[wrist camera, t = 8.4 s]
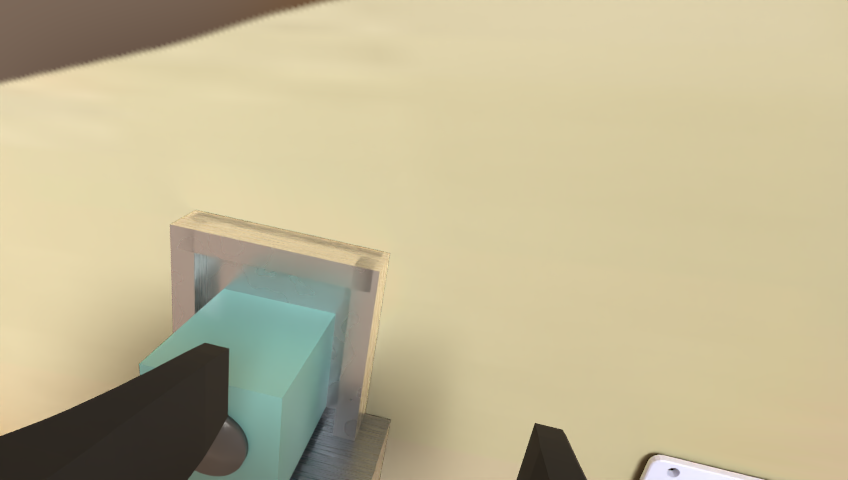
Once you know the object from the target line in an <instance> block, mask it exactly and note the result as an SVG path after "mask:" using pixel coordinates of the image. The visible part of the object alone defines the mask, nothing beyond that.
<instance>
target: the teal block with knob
mask: <svg viewBox="0 0 848 480" xmlns="http://www.w3.org/2000/svg"><path fill="white" fill-rule="evenodd" d="M335 315H336V314H334V313H330V312H325V311H321V310H316V309H312V308H308V307H303V306H299V305H294V304H290V303H285V302H281V301H276V300H272V299H267V298H263V297H258V296H254V295H249V294H245V293H241V292H236V291H232V290H227V289H223V290H222V291H221V292H219V293H218V294H217V295H216V296H215V297H214V298H213V299H212V300H210V301H209V302H208V303H207V304H206V305H205V306H204V307H203V308H201V309H200V310H199V311H198V312H197V313H196V314H195V315H194V316H192V317H191V318H190V319H189V320H188V321H187V322H186V323H185V324H183V325H182V326H181V327H180V328H179V329H178V330H177V331H176V332H174V333H173V334H172V335H171V336H170V337H169V338H168V339H167V340H165V341H164V342H163V343H162V344H161V345H160V346H159V347H158V348H156V349H155V350H154V351H153V352H152V353H151V354H150V355H149V356H147V357H146V358H145V359H144V360H143V361H142V362H141V363H140V364H139V368H140V375H142V374H144V373H146V372H148V371H150V370H152V369H154V368H156V367H158V366H160V365H162V364H164V363H166V362H167V361H169V360H171V359H173V358H175V357H177V356H179V355H181V354H183V353H185V352H187V351H189V350H191V349H193V348H195V347H197V346H199V345H201V344H203V343H209V344H213V345H217V346H221V347H225V348H229V386H228V417H227V419H226V421H225V422H224V424H223V426H222V428H221V430H220V431H219V433H218V435H217V437H216V439H215V440H214V442H213V444H212V445H211V447H210V449H209V450H208V452H207V454H206V456H205V457H204V458H203V460H202V461H201V463H200V464H199V465H198V467H197V468H196V469H195V471H194V472H193V473H192V475H191V476H190V477H189V479H188V480H290V478H291V476H292V474H293V472H294V470H295V468H296V466H297V464H298V462H299V460H300V458H301V456H302V454H303V452H304V450H305V448H306V446H307V444H308V442H309V440H310V438H311V436H312V434H313V432H314V430H315V428H316V426H317V424H318V422H319V420H320V418H321V416H322V414H323V412H324V410H325V408H326V402H327V392H328V383H329V373H330V363H331V353H332V344H333V334H334V324H335Z"/></svg>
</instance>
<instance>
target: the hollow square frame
mask: <svg viewBox="0 0 848 480" xmlns="http://www.w3.org/2000/svg"><path fill="white" fill-rule="evenodd" d="M170 241H171V276H172V311H173V333H174V332H176V331H177V330H178V329H179V328H180V327H181V326H182V325H183V324H185V323H186V322H187V321H188V320H189V319H190V318H191V317H192V316H194V315H195V314H196V313H197V312H198V311H199V310H200V309H201V308H203V307H204V306H205V305H206V304H207V303H208V302H209V301H210V300H212V299H213V298H214V297H215V296H216V295H217V294H218V293H219V292H221V291H222V290H223V289H227V290H232V291H236V292H241V293H245V294H249V295H254V296H258V297H263V298H267V299H272V300H276V301H281V302H285V303H290V304H294V305H299V306H303V307H308V308H312V309H316V310H321V311H325V312H330V313H334V314H336V315H335V324H334V334H333V344H332V353H331V363H330V373H329V383H328V392H327V402H326V408H325V410H324V412H323V414H322V416H321V418H320V420H319V422H318V424H317V426H316V428H315V430H314V432H313V434H312V436H311V438H310V440H309V442H308V444H307V446H306V448H305V450H304V452H303V454H302V456H301V458H300V460H299V462H298V464H297V466H296V468H295V470H294V472H293V474H292V476H291V478H290V480H380V475H381V469H382V464H383V458H384V453H385V447H386V442H387V436H388V431H389V425H390V420H389V419H385V418H381V417H377V416H373V415H369V414H365V410H366V404H367V397H368V391H369V385H370V378H371V372H372V365H373V359H374V353H375V346H376V340H377V333H378V327H379V321H380V314H381V308H382V301H383V295H384V289H385V282H386V276H387V269H388V263H389V256H390V253H387V252H383V251H378V250H374V249H369V248H365V247H360V246H356V245H351V244H347V243H342V242H338V241H333V240H329V239H324V238H320V237H315V236H311V235H306V234H302V233H297V232H293V231H288V230H284V229H279V228H275V227H270V226H266V225H261V224H257V223H252V222H248V221H243V220H239V219H234V218H230V217H225V216H221V215H216V214H212V213H207V212H203V211H198V210H195V211H193V212H191V213H189V214H188V215H186V216H184V217H182V218H181V219H179V220H177V221H175V222H173V223H172V224H170Z"/></svg>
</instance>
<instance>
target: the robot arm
mask: <svg viewBox="0 0 848 480" xmlns="http://www.w3.org/2000/svg"><path fill="white" fill-rule="evenodd" d="M228 386H229V348H225V347H221V346H217V345H213V344H209V343H203V344H201V345H199V346H197V347H195V348H193V349H191V350H189V351H187V352H185V353H183V354H181V355H179V356H177V357H175V358H173V359H171V360H169V361H167V362H166V363H164V364H162V365H160V366H158V367H156V368H154V369H152V370H150V371H148V372H146V373H144V374H142V375H140V376H138V377H136V378H134V379H132V380H130V381H128V382H126V383H124V384H122V385H120V386H118V387H116V388H114V389H112V390H110V391H108V392H105V393H103V394H101V395H99V396H97V397H95V398H92V399H90V400H88V401H86V402H84V403H82V404H79V405H77V406H75V407H73V408H71V409H69V410H66V411H64V412H62V413H59V414H57V415H54V416H52V417H49V418H47V419H45V420H42V421H40V422H37V423H34V424H32V425H29V426H26V427H24V428H21V429H19V430H16V431H13V432H11V433H8V434H5V435H2V436H0V480H188V479H189V477H190V476H191V475H192V473H193V472H194V471H195V469H196V468H197V467H198V465H199V464H200V463H201V461H202V460H203V458H204V457H205V456H206V454H207V452H208V450H209V449H210V447H211V445H212V444H213V442H214V440H215V439H216V437H217V435H218V433H219V431H220V430H221V428H222V426H223V424H224V422H225V421H226V419H227V417H228ZM670 468H676V469H674V470H668V469H670ZM517 480H587V479H586V477H585V475H584V473H583V471H582V469H581V466H580V464H579V462H578V460H577V458H576V456H575V454H574V452H573V450H572V447H571V445H570V443H569V441H568V439H567V437H566V435H565V433H564V431H563V430H561V429H557V428H553V427H549V426H545V425H541V424H537V423H535V425H534V428H533V431H532V434H531V437H530V440H529V443H528V446H527V449H526V453H525V456H524V459H523V462H522V465H521V468H520V471H519V474H518V477H517ZM640 480H763V479H759V478H755V477H751V476H747V475H743V474H739V473H734V472H730V471H726V470H722V469H718V468H714V467H710V466H706V465H702V464H698V463H694V462H689V461H685V460H681V459H677V458H673V457H669V456H665V455H655V456H653V457H651V458H650V459H649V460H648V462H647V464H646V466H645V468H644V471H643V473H642V475H641V477H640Z"/></svg>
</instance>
